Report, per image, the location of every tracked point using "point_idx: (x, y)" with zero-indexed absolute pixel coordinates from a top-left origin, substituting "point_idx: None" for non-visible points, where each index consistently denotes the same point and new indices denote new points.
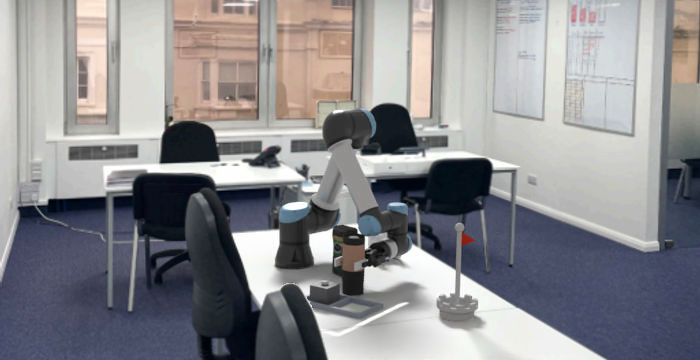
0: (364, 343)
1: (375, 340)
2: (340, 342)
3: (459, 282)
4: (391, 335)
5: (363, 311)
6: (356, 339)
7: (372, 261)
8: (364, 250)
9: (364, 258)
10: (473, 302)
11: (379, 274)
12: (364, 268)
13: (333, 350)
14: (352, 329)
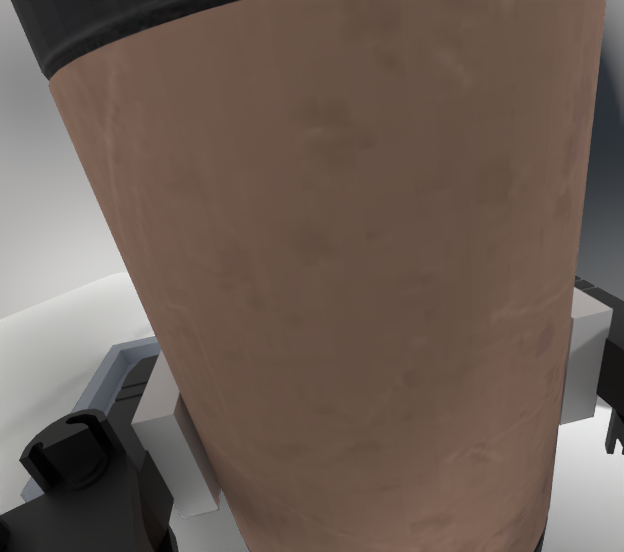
0: (68, 314)
1: (41, 334)
2: (128, 290)
3: None
4: None
5: (108, 364)
6: (95, 313)
7: (29, 509)
8: (121, 252)
9: (182, 396)
10: None
11: None
12: (237, 525)
13: (128, 274)
14: (128, 331)
